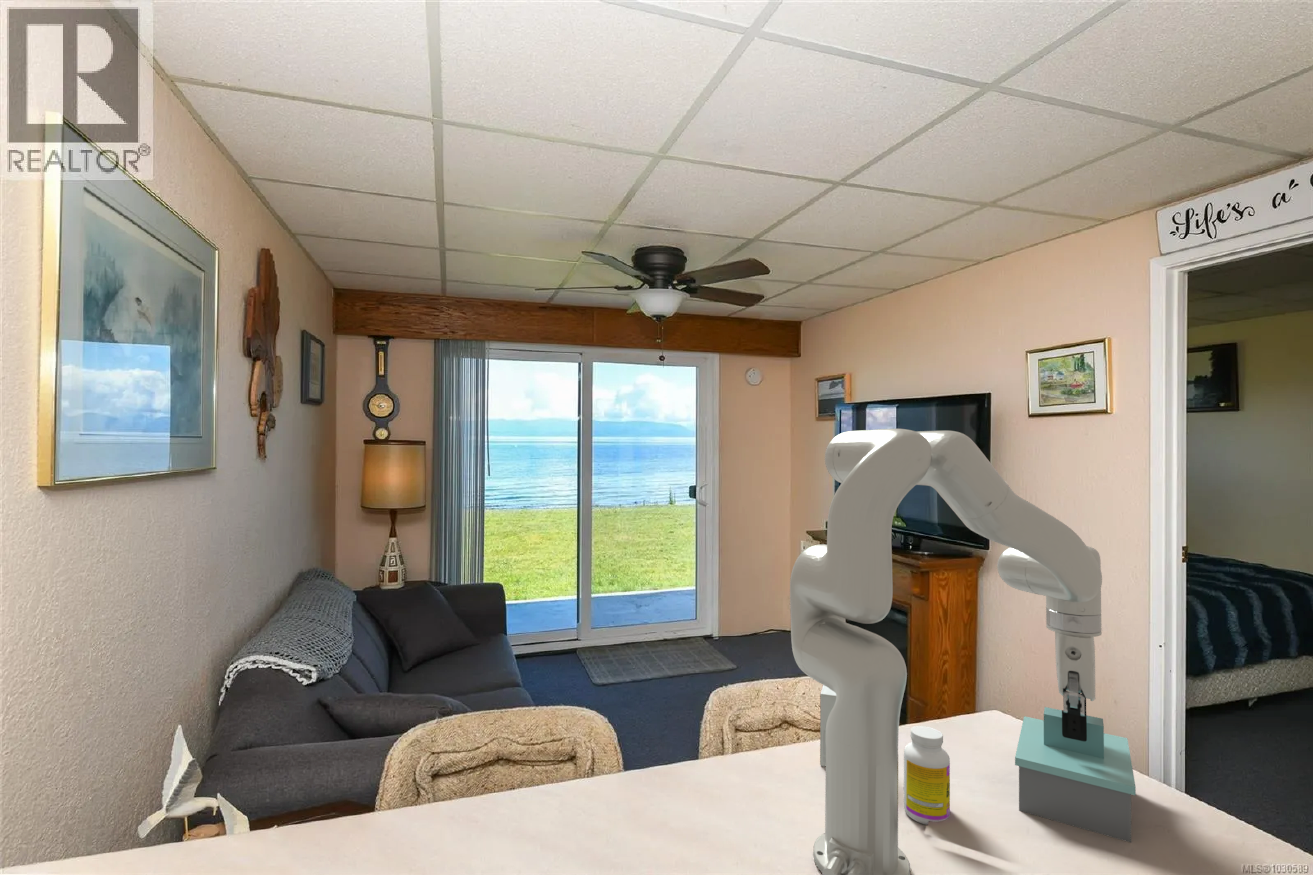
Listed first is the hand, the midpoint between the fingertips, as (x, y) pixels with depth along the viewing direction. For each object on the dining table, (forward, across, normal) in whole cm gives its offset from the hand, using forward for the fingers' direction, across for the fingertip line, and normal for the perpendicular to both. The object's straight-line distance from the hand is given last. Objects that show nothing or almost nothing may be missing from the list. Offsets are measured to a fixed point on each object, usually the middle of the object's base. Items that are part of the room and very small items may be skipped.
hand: (1074, 727), depth 102 cm
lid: (+6, 0, 0) cm, 6 cm away
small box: (+12, -8, +36) cm, 39 cm away
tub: (+12, 0, 0) cm, 12 cm away
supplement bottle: (+12, -18, +19) cm, 29 cm away
